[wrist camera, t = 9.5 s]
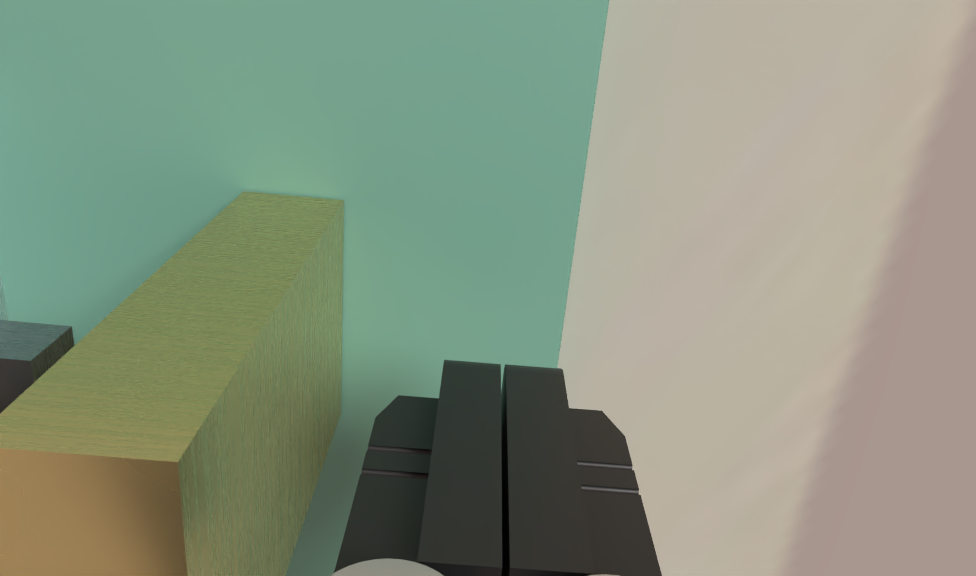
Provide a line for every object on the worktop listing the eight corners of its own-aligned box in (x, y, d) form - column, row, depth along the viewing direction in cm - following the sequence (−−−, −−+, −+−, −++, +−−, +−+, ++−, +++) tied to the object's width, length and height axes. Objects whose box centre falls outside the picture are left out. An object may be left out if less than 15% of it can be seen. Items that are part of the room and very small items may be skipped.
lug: (52, 174, 12) (-441, 413, 6) (344, 199, 12) (177, 462, 6) (82, 392, 14) (-280, 770, 7) (341, 413, 14) (206, 804, 7)
